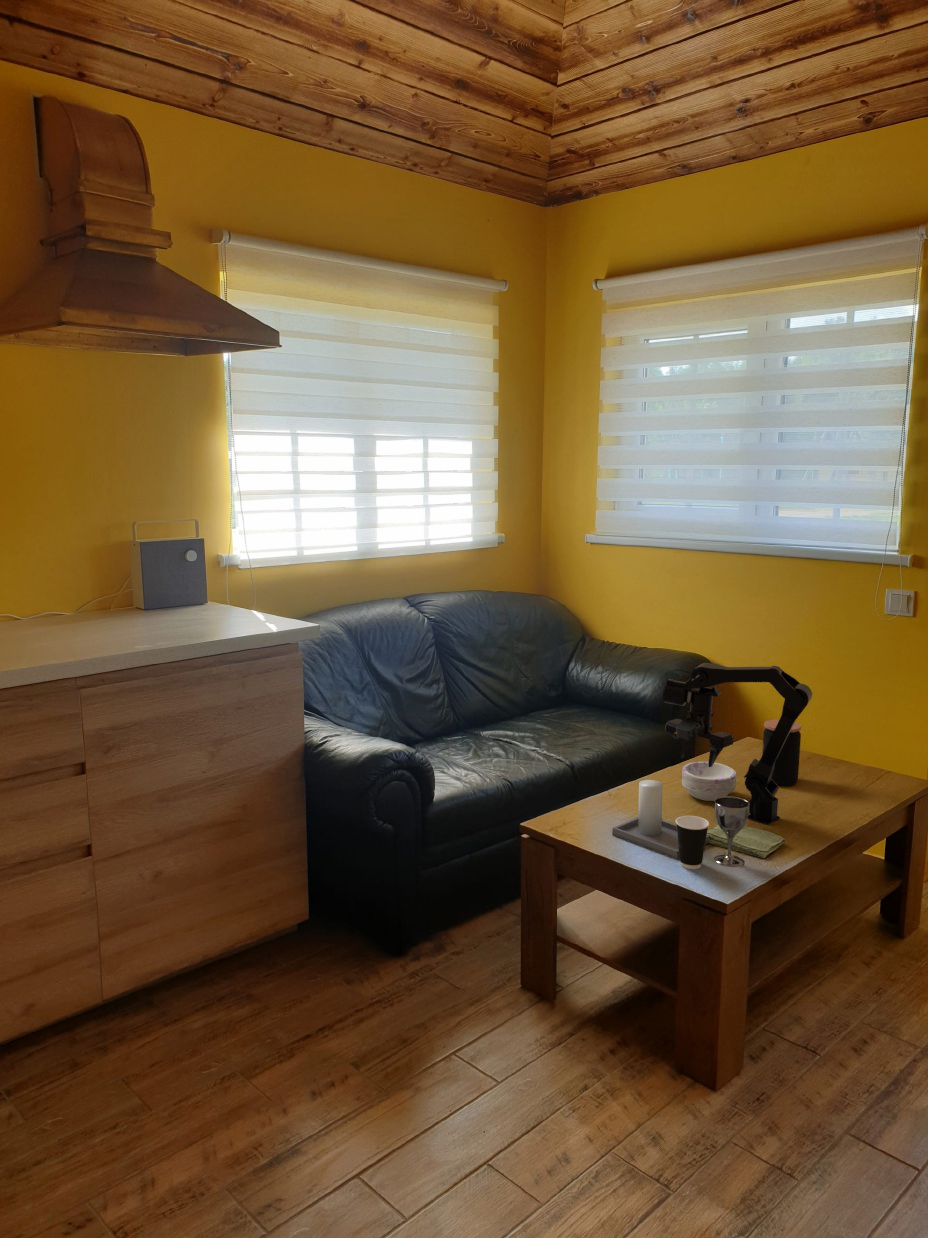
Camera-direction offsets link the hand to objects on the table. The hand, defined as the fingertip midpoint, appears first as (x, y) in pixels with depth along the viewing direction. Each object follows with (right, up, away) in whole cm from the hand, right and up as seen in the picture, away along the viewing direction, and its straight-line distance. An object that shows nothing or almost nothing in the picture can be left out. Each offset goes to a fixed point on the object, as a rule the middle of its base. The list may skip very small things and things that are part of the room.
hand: (695, 762), depth 258 cm
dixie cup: (-10, -20, -35) cm, 41 cm away
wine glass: (0, -19, -32) cm, 38 cm away
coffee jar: (+31, -9, +22) cm, 39 cm away
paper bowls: (+6, -12, +10) cm, 17 cm away
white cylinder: (-16, -16, -17) cm, 28 cm away
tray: (-14, -17, -20) cm, 30 cm away
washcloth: (+6, -18, -22) cm, 29 cm away
